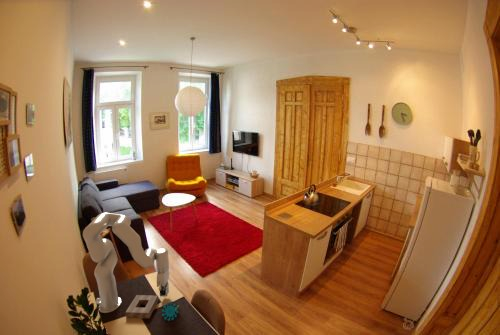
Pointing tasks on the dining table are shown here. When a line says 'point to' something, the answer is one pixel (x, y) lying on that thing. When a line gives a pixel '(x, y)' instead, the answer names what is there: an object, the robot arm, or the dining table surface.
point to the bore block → (138, 312)
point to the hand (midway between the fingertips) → (164, 291)
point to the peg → (166, 290)
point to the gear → (170, 311)
